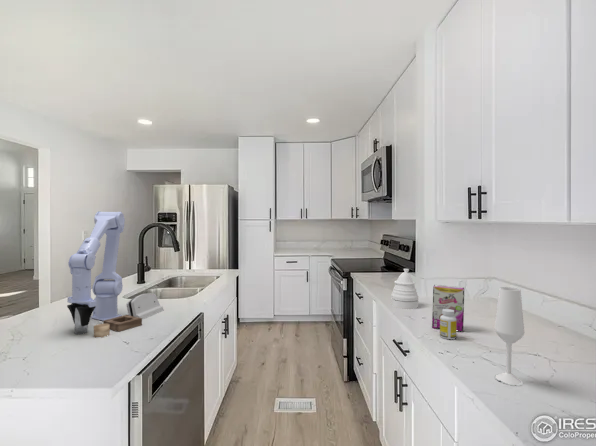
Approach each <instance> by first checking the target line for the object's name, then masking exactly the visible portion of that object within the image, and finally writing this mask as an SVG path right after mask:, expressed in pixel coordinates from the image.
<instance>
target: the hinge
mask: <svg viewBox="0 0 596 446" xmlns="http://www.w3.org/2000/svg"><path fill="white" fill-rule="evenodd" d="M157 296H158V295H156V294H155V293H150V292H149V293H141V294H139V295H135V296H134V297H133V298H131V299H130V300H129V301H127V302H126V309H127V315H129V316H134V317H138V318H142V321H143V320H145V319H147V318H149V317H152V316H154V315H156V314H159V313H161V312H163V311H164V310H165V309H164V307H163V306H162V305H161V304H160V300H159V299H158V297H157Z"/></svg>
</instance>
